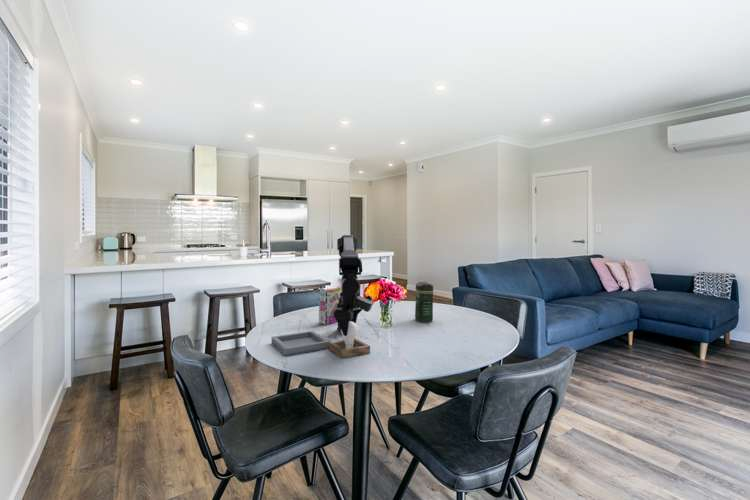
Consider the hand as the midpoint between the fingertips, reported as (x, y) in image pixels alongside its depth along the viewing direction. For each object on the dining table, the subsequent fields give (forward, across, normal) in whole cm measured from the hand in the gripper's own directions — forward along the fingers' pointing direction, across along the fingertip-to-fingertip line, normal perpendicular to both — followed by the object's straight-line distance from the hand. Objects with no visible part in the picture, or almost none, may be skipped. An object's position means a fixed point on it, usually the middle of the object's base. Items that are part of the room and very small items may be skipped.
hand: (349, 332), depth 138 cm
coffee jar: (+7, +53, -22) cm, 58 cm away
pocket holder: (+7, 0, 0) cm, 7 cm away
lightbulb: (+7, 0, 0) cm, 7 cm away
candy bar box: (+7, +37, +20) cm, 43 cm away
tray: (+7, +1, +20) cm, 21 cm away
